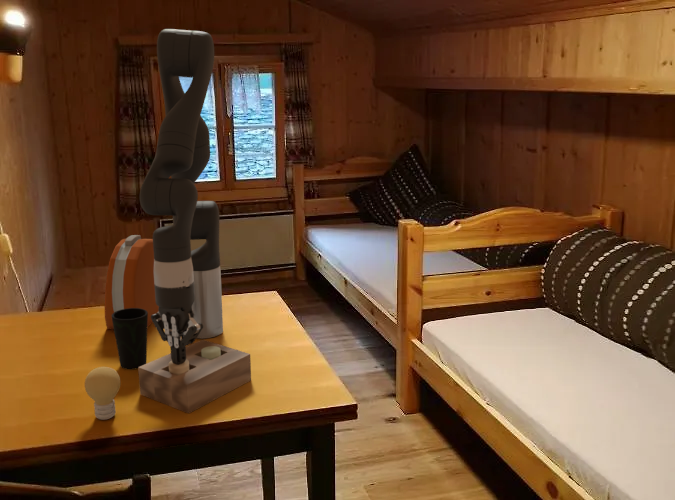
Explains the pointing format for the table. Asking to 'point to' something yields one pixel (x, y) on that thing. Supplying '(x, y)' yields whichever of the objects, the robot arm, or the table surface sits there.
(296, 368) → the table surface
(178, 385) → the socket block
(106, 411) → the light bulb
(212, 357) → the peg sage
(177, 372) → the peg birch
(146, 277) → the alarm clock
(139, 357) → the cup
